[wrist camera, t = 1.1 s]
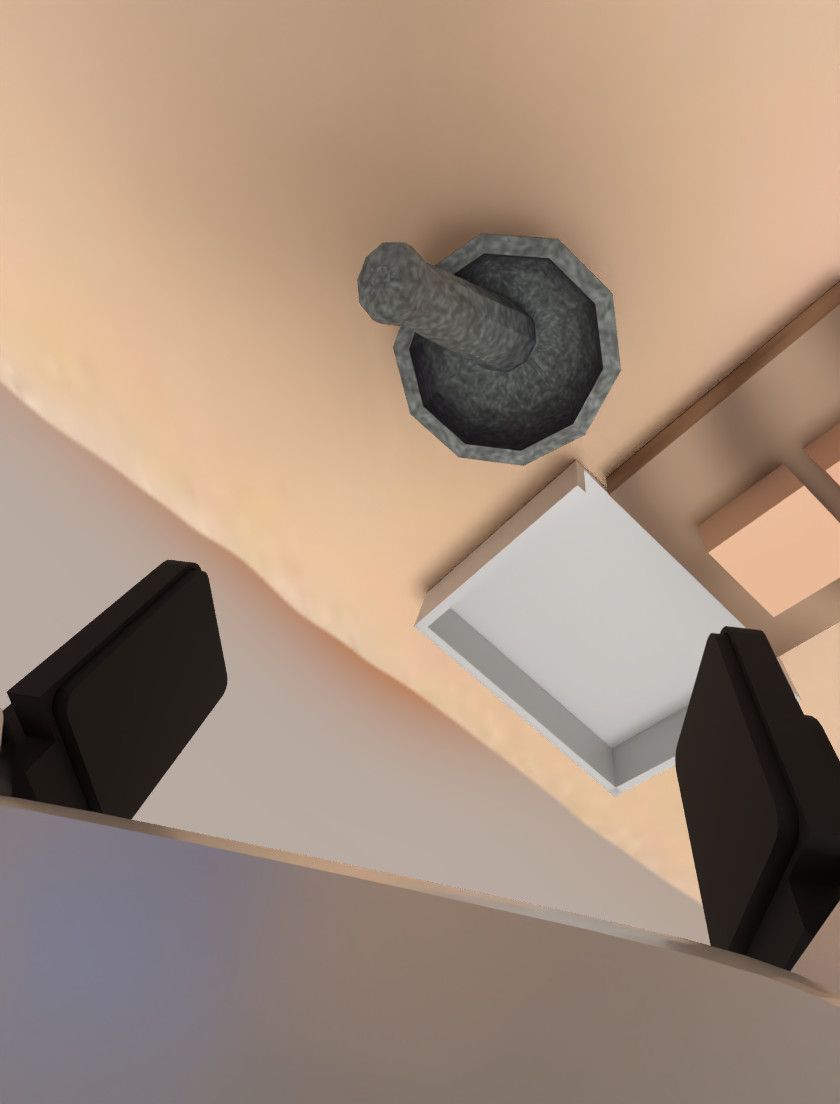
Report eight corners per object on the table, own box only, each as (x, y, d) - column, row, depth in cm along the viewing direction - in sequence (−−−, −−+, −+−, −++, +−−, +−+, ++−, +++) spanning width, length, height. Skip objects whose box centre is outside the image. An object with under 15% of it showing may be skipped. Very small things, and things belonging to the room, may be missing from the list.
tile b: (783, 463, 30) (804, 485, 27) (846, 530, 31) (872, 557, 28) (696, 526, 32) (708, 552, 29) (757, 587, 33) (773, 617, 30)
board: (844, 277, 28) (867, 280, 26) (1018, 480, 30) (1054, 499, 28) (606, 478, 34) (608, 494, 32) (763, 632, 37) (776, 657, 35)
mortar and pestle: (650, 329, 30) (694, 379, 20) (520, 458, 35) (502, 552, 25) (487, 166, 29) (442, 127, 18) (372, 323, 33) (284, 363, 23)
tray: (576, 459, 34) (577, 485, 31) (779, 656, 37) (800, 699, 34) (426, 592, 41) (413, 626, 37) (610, 751, 44) (614, 796, 40)
